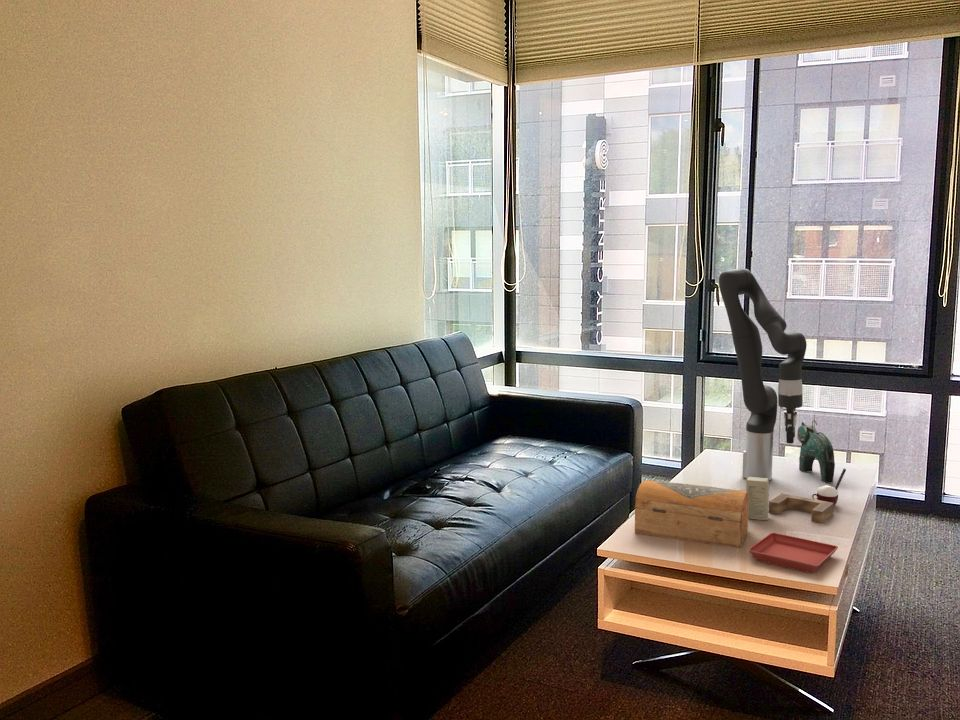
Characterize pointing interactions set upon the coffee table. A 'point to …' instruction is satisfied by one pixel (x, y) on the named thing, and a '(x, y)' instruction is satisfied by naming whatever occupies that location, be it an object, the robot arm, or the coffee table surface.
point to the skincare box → (758, 497)
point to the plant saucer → (792, 552)
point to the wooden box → (692, 513)
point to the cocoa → (829, 491)
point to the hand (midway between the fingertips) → (790, 440)
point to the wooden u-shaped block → (802, 506)
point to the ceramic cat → (816, 452)
